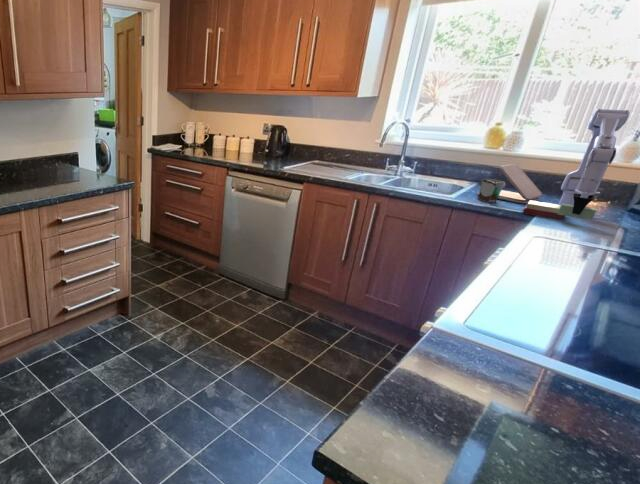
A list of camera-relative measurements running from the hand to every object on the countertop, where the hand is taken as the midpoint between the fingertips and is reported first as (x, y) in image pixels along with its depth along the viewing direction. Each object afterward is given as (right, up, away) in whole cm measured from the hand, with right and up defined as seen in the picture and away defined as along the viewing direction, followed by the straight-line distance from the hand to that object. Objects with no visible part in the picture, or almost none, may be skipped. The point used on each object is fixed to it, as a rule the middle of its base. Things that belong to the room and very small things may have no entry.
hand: (575, 212), depth 171 cm
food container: (-6, +9, +34) cm, 35 cm away
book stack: (0, +1, +13) cm, 13 cm away
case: (+10, +12, +42) cm, 45 cm away
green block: (0, -1, +1) cm, 1 cm away
